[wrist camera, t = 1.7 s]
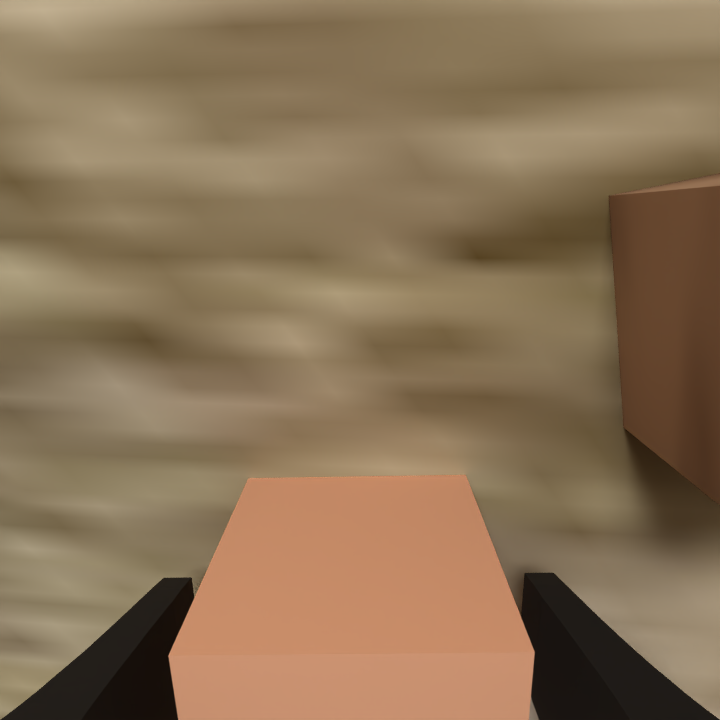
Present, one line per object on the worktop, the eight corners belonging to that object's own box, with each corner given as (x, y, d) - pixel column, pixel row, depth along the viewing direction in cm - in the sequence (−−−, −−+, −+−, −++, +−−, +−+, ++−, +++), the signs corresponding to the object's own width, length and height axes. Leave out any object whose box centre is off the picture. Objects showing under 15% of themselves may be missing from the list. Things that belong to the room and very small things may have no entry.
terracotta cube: (465, 473, 12) (534, 652, 7) (458, 648, 13) (512, 901, 8) (249, 476, 12) (168, 654, 7) (264, 650, 13) (206, 902, 8)
